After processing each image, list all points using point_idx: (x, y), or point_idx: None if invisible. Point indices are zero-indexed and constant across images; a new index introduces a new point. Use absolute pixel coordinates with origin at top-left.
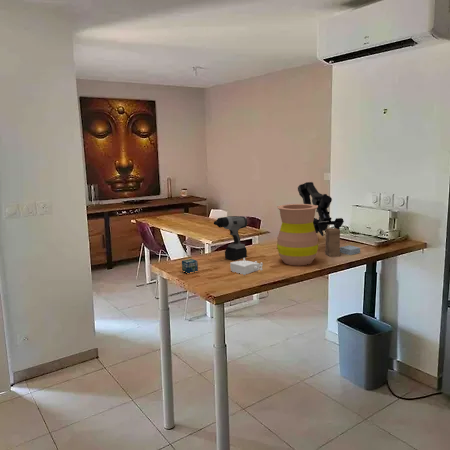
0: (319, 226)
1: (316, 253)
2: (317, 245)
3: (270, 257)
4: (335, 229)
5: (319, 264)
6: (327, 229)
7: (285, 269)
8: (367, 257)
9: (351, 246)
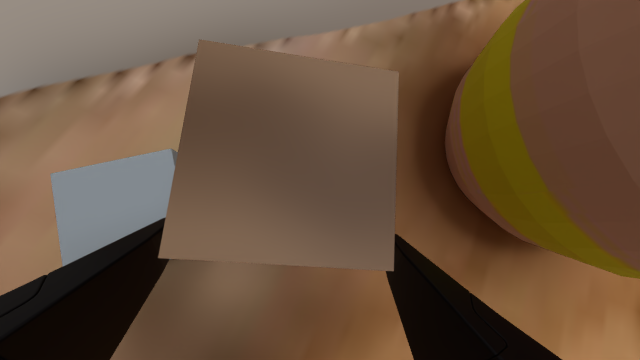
0: (542, 355)
1: (469, 69)
2: (524, 4)
3: (616, 278)
4: (253, 114)
5: (431, 66)
6: (392, 176)
7: None
8: (124, 72)
9: (84, 243)
